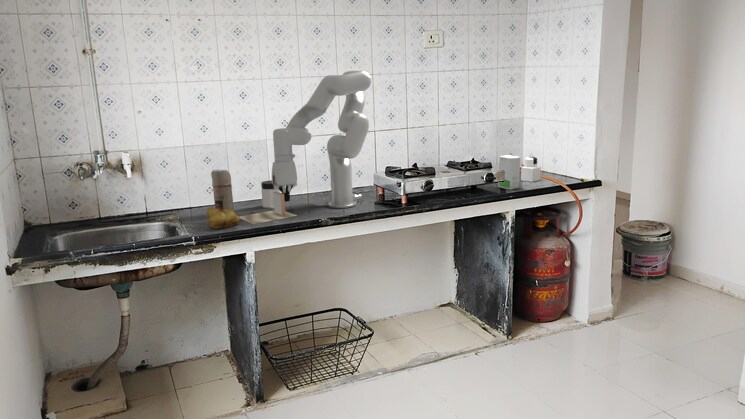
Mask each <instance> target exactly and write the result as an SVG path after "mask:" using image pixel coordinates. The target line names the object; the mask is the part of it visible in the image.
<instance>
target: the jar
mask: <svg viewBox="0 0 745 419" xmlns="http://www.w3.org/2000/svg"><path fill="white" fill-rule="evenodd" d="M260 185H261V198H262V199H261V200H262V202H261V203H262V208H268V209H269V208H270V209H274V201H273V192H279V193H281V191H280V190H279V189H274V188H273V186H274V185H273V184H272V179H271V180H264V181H261V184H260Z"/></svg>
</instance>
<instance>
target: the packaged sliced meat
mask: <svg viewBox="0 0 745 419" xmlns="http://www.w3.org/2000/svg"><path fill="white" fill-rule="evenodd" d="M296 216H298V215H297V214H294V213H291V212H288V211H286V210H285V215H283V216H282V215H279V214H276V213H274V209H272V210H268V211H263V212H257V213H251V214H246V215H241V216H239V217H240V220H243V221H245V222H248V223H250V224H251V225H257V224H261V223H267V222H273V221H276V220H278V221H279V220H282V219H287V218H293V217H296Z"/></svg>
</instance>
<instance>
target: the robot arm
mask: <svg viewBox="0 0 745 419" xmlns="http://www.w3.org/2000/svg"><path fill="white" fill-rule="evenodd" d="M371 85H372V76H371V75H370V74H369V73H368V72H367V71H364V70H347V71H345V72H344V73H342V74H338V75H337V74H336V75H333V74H331V75H326V76H324V77H323V78H322V79H321V80H320V82H319V84H318V85H317V86H316V88H315V90H314V91H313V93H312V95H311V97H310V98H309V99H308V100H307V102H306V103H305V104H304V105H303V106H302V107H301V108H300V109H299V110H298V111H297V112H296V113H295V114H294V115H293V116H292V117H291V118H290V120H289V122H288V123H287V125H286V127H285V128H282V127H281V128H275V129H274V130H273V131H272V138H273V139H272V140H273V154H274V156H273V157H274V161H272V164H271V165H272V167H271V180H272V184H273V185H274V186H273V188H274V189H279V190H280V193H282V194H284V200H285V202H286V203H287V202H290V199H291V191H292V189H293V188H295V187H297V186H298V174H297V167H296V164H295V160H294V158H296V154H295V153H293V146H305V145H307V144H309V143H310V141H311V139H312V133H311V131H310V130H309V129H308V128H306V127H307V125H309V124H310V123H311V122H312V121H314V120H315V119H319V117H322V116H323V115H324V114H325V113H326V112H327V110H328V108H329V107H330V105H331V103H332V102H333V100H334V99H335V97H337V96H338V97H339V96H340V97H342V96H345V101H344V106H343V108H342V111H341V113H340V115H339V116H340V117H339V118H338V121H337V128H338V130H339V131H340V132H342V133H343V134H345V135H343V134H336V135H335V134H334V135H332V136H331V137H330V138H329V139H328V140H327V142H326V144H327V145H326V150H327V156H328V160H329V171H330V172H329V173H330V174H329V175H330V194H331V201H329V202H328V207H329V208H333V209H345V208H346V209H348V208H353V207H355V206H357V201H356V200H359V199H362V198H363V196H362V194H355V193H353V177H352V176H353V174H352V172H353V171H352V162H351V159H355V158H357V156H359V154H360V152H361V150H362V148H363V146H364V143H365V141H366V140H365V139H366V137H367V134H368V133H369V132H368V131H369V128H370V127H369V126H370V124H369V119H368V117H367V116H366V115H365V114H364V113H363V110H364V107H365V105H366V100H365V99H366V98H365V93H364V92H365V91H367V90H368V89H369V88H370V86H371Z"/></svg>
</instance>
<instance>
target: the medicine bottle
mask: <svg viewBox="0 0 745 419" xmlns="http://www.w3.org/2000/svg"><path fill="white" fill-rule="evenodd" d="M524 158H525V159H524V166H520V171H521V172H520V180H521V181H522V182H523V181H524V182H529V183H530V182H531V183H534V182H538V181H540V180H541V166H538V158H537V157H535V156H526V157H524Z"/></svg>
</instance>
